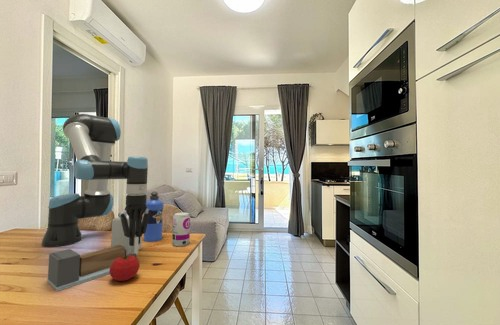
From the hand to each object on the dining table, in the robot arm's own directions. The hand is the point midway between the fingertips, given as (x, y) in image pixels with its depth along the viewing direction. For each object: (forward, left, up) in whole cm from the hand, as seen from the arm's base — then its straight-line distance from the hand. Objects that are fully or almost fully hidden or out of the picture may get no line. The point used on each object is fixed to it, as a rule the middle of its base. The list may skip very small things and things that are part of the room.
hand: (134, 253), depth 91 cm
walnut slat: (0, -12, -2) cm, 12 cm away
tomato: (+13, -10, -3) cm, 16 cm away
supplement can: (-2, +24, -3) cm, 25 cm away
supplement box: (-13, +3, -3) cm, 14 cm away
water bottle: (-20, +20, -3) cm, 29 cm away
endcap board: (0, -14, -3) cm, 14 cm away
